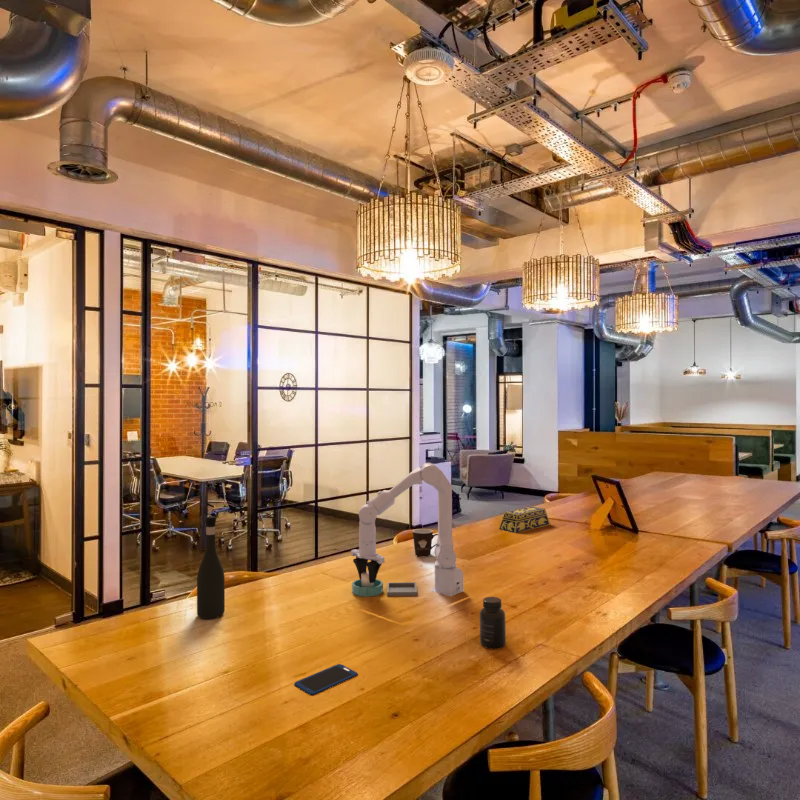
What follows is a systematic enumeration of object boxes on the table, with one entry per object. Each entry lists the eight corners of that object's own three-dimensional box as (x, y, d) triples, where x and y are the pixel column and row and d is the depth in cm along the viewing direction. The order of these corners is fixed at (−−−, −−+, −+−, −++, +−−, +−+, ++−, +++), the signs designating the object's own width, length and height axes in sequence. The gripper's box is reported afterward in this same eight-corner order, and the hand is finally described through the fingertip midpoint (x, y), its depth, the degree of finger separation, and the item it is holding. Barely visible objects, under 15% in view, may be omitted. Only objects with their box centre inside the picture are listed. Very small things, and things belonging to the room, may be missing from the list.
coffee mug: (409, 555, 240) (409, 531, 240) (418, 550, 248) (418, 527, 248) (434, 559, 235) (434, 534, 235) (442, 554, 243) (442, 530, 243)
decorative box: (550, 525, 300) (550, 508, 300) (515, 534, 280) (515, 515, 280) (533, 522, 308) (533, 505, 308) (497, 530, 288) (497, 512, 288)
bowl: (388, 592, 194) (388, 582, 194) (366, 600, 187) (366, 590, 187) (368, 586, 201) (368, 576, 201) (346, 593, 194) (346, 583, 194)
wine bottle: (196, 612, 177) (196, 515, 177) (223, 609, 179) (223, 513, 179) (197, 621, 169) (197, 520, 169) (225, 618, 172) (225, 518, 172)
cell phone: (359, 676, 136) (359, 673, 136) (311, 698, 127) (311, 694, 127) (339, 666, 142) (339, 663, 142) (292, 686, 132) (292, 682, 132)
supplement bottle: (488, 636, 158) (488, 593, 158) (510, 643, 154) (510, 598, 154) (474, 644, 153) (474, 600, 153) (497, 652, 148) (497, 605, 148)
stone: (376, 585, 194) (376, 573, 194) (367, 588, 191) (367, 576, 191) (368, 582, 197) (368, 571, 197) (358, 585, 194) (358, 573, 194)
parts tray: (415, 587, 200) (415, 582, 200) (417, 597, 190) (417, 591, 190) (387, 587, 199) (387, 582, 199) (387, 597, 189) (387, 592, 189)
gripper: (344, 539, 196) (344, 578, 196) (373, 546, 186) (373, 588, 186) (359, 535, 201) (359, 574, 201) (388, 542, 191) (389, 583, 191)
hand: (367, 580), depth 194 cm, fingers closed on stone, 4 cm apart
